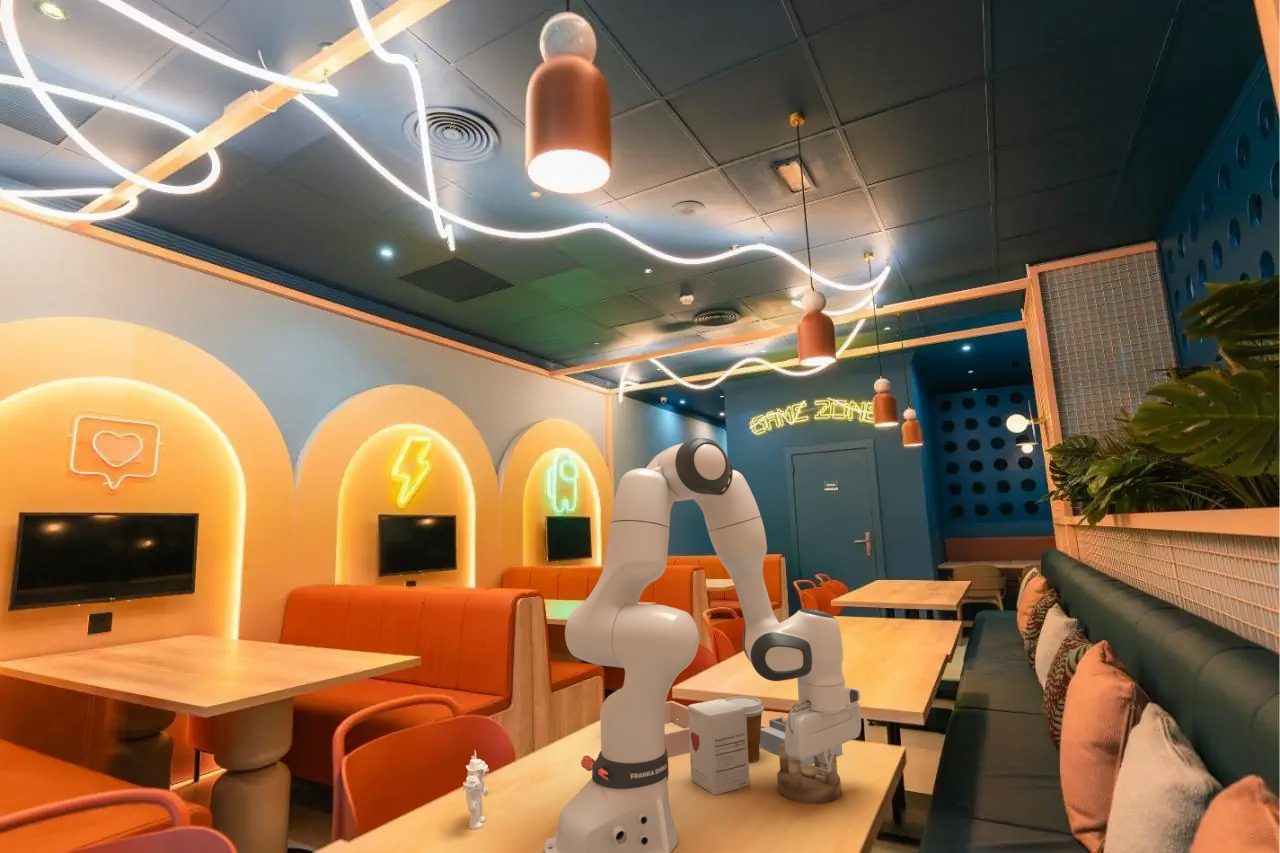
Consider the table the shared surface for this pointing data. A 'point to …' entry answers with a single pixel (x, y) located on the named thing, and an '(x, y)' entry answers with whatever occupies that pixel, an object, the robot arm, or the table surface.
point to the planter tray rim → (677, 739)
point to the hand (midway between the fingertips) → (826, 772)
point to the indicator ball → (784, 719)
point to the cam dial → (807, 780)
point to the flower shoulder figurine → (476, 791)
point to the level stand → (782, 739)
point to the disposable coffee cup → (751, 723)
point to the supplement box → (718, 746)
